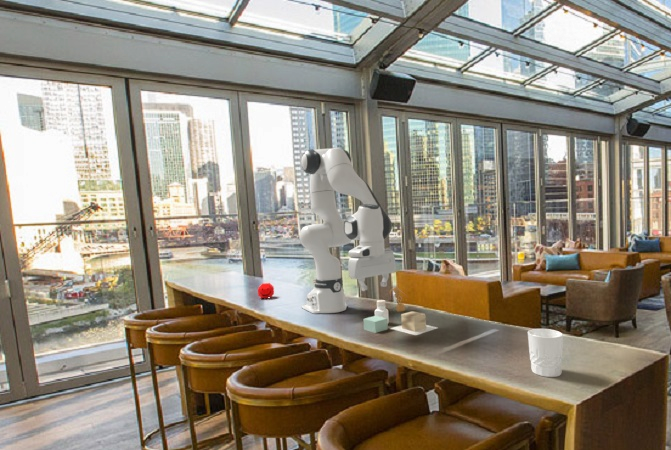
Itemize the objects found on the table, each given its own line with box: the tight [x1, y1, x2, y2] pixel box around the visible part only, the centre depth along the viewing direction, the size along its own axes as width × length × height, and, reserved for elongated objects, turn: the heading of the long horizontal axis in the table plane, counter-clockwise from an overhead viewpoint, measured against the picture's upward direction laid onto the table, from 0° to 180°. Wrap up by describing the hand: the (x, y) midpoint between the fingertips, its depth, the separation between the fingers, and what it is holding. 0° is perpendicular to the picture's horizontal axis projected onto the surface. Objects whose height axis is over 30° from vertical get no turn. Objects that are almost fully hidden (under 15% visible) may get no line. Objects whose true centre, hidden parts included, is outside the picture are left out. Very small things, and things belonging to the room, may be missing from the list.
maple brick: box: [400, 310, 427, 332], centre depth 143 cm, size 6×6×5 cm
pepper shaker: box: [374, 299, 390, 324], centre depth 152 cm, size 4×4×10 cm
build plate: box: [389, 324, 438, 336], centre depth 143 cm, size 12×12×1 cm
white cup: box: [527, 328, 564, 378], centre depth 102 cm, size 8×8×10 cm
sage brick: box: [362, 315, 389, 334], centre depth 144 cm, size 6×6×5 cm
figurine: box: [389, 284, 408, 313], centre depth 169 cm, size 8×6×12 cm
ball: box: [257, 282, 275, 299], centre depth 217 cm, size 8×8×8 cm
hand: (374, 288), depth 144 cm, fingers open, 8 cm apart
